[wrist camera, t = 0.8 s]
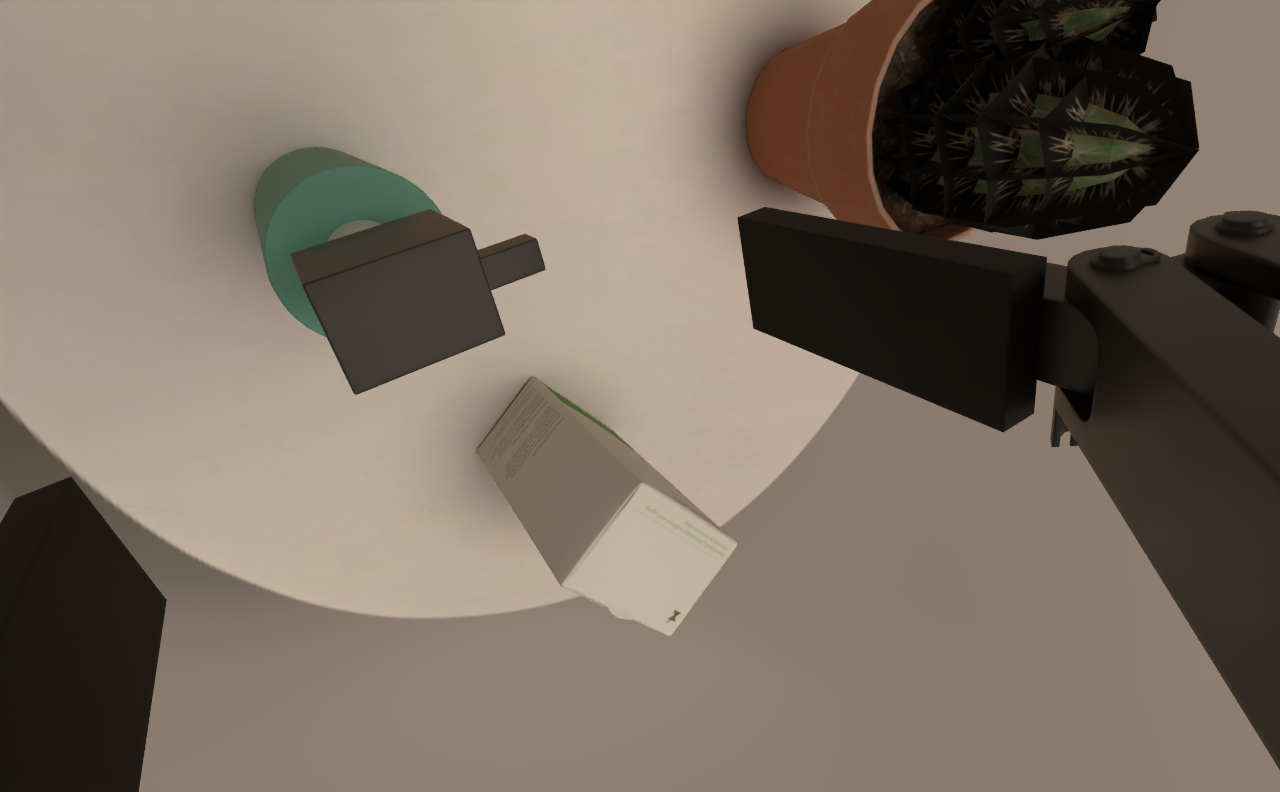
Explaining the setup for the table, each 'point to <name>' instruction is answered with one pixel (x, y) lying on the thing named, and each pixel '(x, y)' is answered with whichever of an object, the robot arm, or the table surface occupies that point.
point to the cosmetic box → (602, 511)
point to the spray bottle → (379, 265)
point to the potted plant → (977, 117)
